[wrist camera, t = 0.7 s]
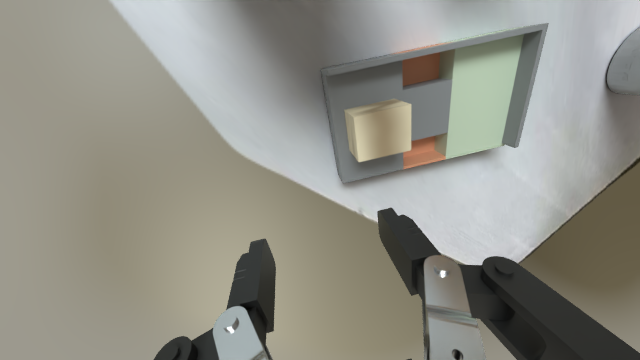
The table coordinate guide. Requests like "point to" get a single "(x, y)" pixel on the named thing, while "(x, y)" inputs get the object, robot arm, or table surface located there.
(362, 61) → the box
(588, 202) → the table surface
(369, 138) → the birch block
